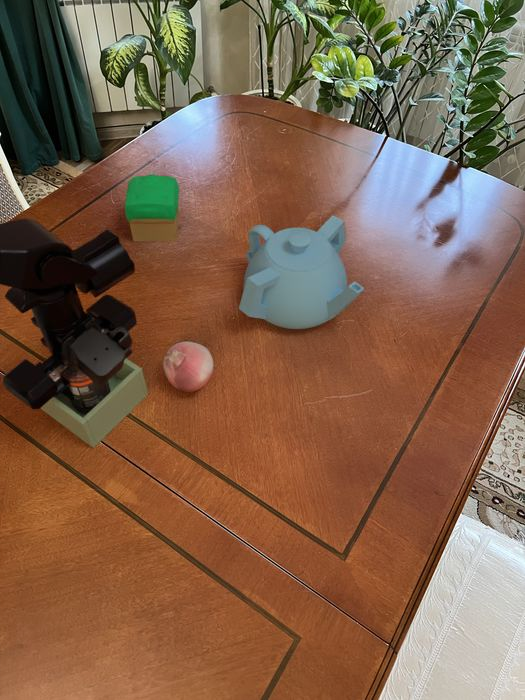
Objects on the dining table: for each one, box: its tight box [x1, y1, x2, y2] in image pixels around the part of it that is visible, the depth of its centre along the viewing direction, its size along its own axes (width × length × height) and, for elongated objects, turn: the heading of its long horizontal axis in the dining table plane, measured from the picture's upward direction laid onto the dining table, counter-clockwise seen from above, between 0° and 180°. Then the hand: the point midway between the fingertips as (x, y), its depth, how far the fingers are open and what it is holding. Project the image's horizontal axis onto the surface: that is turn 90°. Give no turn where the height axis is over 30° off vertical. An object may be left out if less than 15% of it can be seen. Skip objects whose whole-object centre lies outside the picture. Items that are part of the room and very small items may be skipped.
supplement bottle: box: [60, 366, 111, 413], centre depth 82 cm, size 6×6×11 cm
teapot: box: [238, 214, 365, 330], centre depth 96 cm, size 19×19×14 cm
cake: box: [124, 173, 180, 242], centre depth 108 cm, size 10×11×10 cm
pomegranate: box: [162, 341, 215, 393], centre depth 87 cm, size 8×8×7 cm
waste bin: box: [39, 358, 149, 449], centre depth 84 cm, size 12×12×7 cm
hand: (87, 383), depth 83 cm, fingers closed on supplement bottle, 6 cm apart
